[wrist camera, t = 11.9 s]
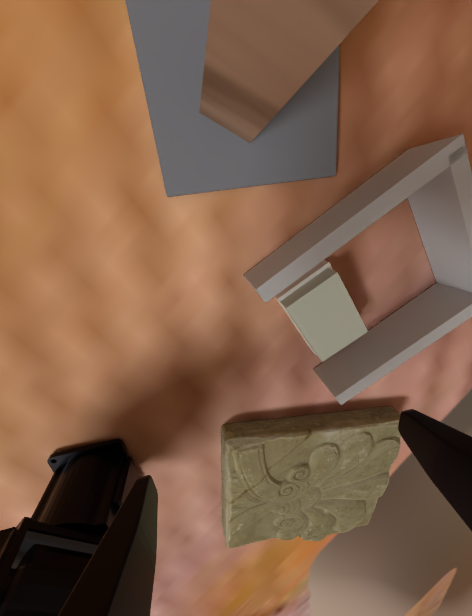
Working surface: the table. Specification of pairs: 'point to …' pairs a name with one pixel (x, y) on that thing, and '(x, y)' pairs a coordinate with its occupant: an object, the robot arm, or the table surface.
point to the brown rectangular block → (267, 55)
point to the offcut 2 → (325, 314)
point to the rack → (437, 242)
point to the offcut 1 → (299, 283)
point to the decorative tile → (305, 473)
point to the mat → (211, 136)
